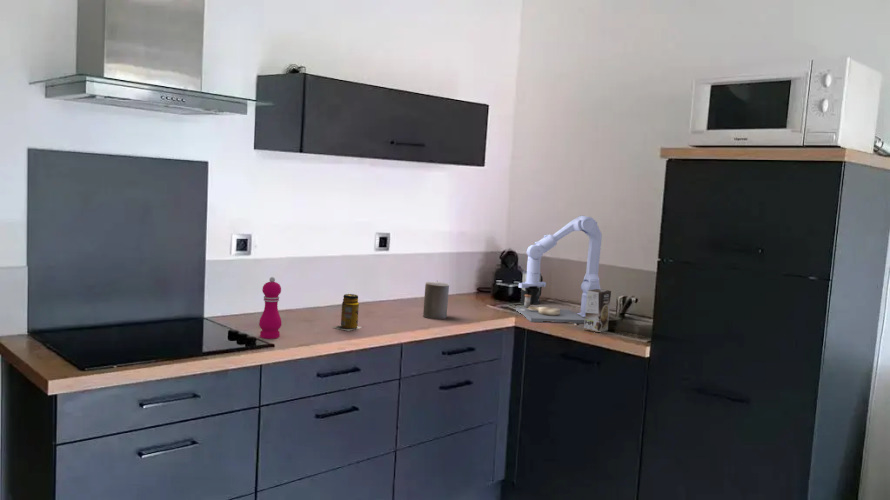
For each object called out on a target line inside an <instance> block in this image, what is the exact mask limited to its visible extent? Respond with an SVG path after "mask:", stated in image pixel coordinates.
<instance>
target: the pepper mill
mask: <svg viewBox="0 0 890 500" xmlns="http://www.w3.org/2000/svg"><path fill="white" fill-rule="evenodd" d="M261 289H262V293H263V295H264V296H263V301H264V309H263V312H262V313H261V316H260V319H259V322H258V323H259V324H258V327H259V328H260V329H261V330H260V334H259V336H260V338H261V339H264V340H272V339H278V338H280V337H281V333H280V331H279V330H280V328H281V327H282V317H281V315H280V312H279V308H278V306H279V305H278V304H279V301H280V296H279V295H280V294H281V292H282V287H281V285H280V283H278V282H276V279H275V277H274V276H272V277H270V278H269V281H268V282H265V283H264V284H263V286H262V288H261Z"/></svg>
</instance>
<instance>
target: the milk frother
mask: <svg viewBox="0 0 890 500" xmlns="http://www.w3.org/2000/svg"><path fill="white" fill-rule="evenodd" d="M526 274H527V270H523V271H522V282H521V283H524V282H526ZM542 274H543V272H542V271H540V279H539V282H544V278H543V276H542ZM537 288H540V289H539V291H538V293H537V295H536V297H535V300H534V304H533V305H539V304H540V296H541V295H542V289H543V287H537ZM521 292H522V295H521V294H520V295H521V296H520V297H521V299H520V300H519V301H520V303H521V304H524V303H525V295H526V294H527V292H526V290H525V288H521Z"/></svg>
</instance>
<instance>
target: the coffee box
mask: <svg viewBox="0 0 890 500" xmlns="http://www.w3.org/2000/svg"><path fill="white" fill-rule="evenodd" d="M611 295H612V290H610V289H609V290H608V289H601V290H600V289H594V290H588V292H587V302H586V313H585V317H584V319H585V324H584V326H583V329H584V328H587V329H592V330H596V331H602V332H601V333H603V332H606V331H608V330H609V320H610V319H609V318H610V307H611V297H612V296H611Z"/></svg>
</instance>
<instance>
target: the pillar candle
mask: <svg viewBox="0 0 890 500" xmlns="http://www.w3.org/2000/svg"><path fill="white" fill-rule="evenodd" d="M449 290H450V284H449V283H445V282H441V281H438V280H436V281H427V282H425V285H424V297H423V298H424V299H423V309H422V310H423V313H422V317H424V318H427V319H432V320H445V319H447V316H448V304H449V303H448V302H449V292H450V291H449Z"/></svg>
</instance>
